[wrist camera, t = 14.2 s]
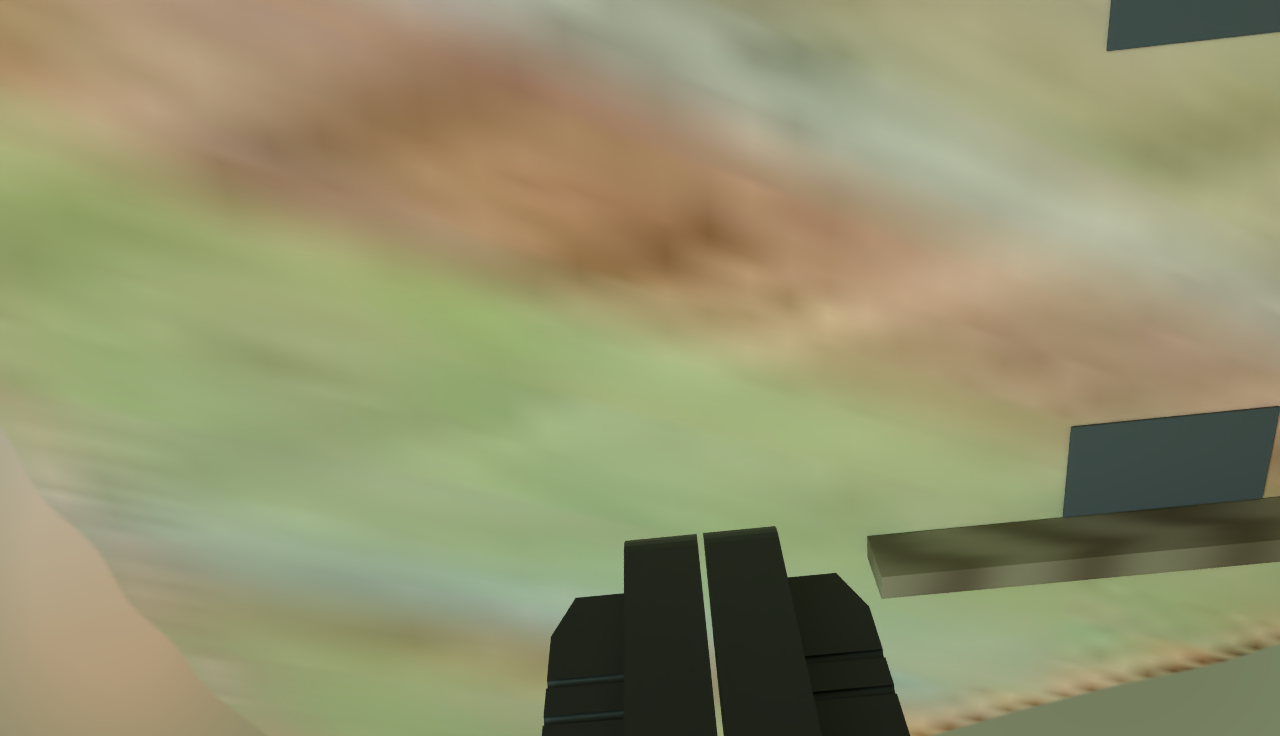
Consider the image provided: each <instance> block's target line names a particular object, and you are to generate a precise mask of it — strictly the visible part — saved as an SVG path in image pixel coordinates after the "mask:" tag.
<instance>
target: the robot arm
mask: <svg viewBox="0 0 1280 736" xmlns="http://www.w3.org/2000/svg"><path fill="white" fill-rule="evenodd" d="M703 537H704V548H705V558H706V568H707V578H708V588H709V598H710V608H711V618H712V628H713V638H714V648H715V658H716V668H717V678H718V687H719V697H720V706H721V715H722V724H723V733H724V736H910V734H909V731H908V727H907V724H906V721H905V718H904V715H903V712H902V709H901V705H900V702H899V699H898V696H897V694H895V690H894V683H893V680H892V677H891V674H890V671H889V668H888V664H887V661H886V658H884V656H883V649H882V646H881V642H880V639H879V636H878V633H877V630H876V627H875V623H874V620H873V617H872V614H871V611H870V608H869V606H868V605H867V604H866V603H865V602H864V601H863V600H862V599H861V598H860V597H859V596H858V595H857V594H856V593H855V592H854V591H853V590H852V589H851V588H850V587H849V586H848V585H847V584H846V583H845V582H844V581H843V580H842V579H841V577H840V576H839V575H838V574H837V573H831V574H820V575H810V576H799V577H789V578H787V573H786V568H785V564H784V559H783V555H782V550H781V546H780V541H779V537H778V532H777V529H776V527H775V526H772V527H762V528H751V529H741V530H731V531H720V532H710V533H703ZM547 684H548V689H546V697H545V708H544V726H543V729H542V736H717V727H716V717H715V708H714V698H713V688H712V679H711V669H710V659H709V649H708V640H707V630H706V620H705V611H704V601H703V591H702V581H701V572H700V562H699V552H698V543H697V534H692V535H682V536H672V537H661V538H651V539H640V540H630V541H625V543H624V593H623V594H613V595H602V596H591V597H581V598H575V600H574V602H573V603H572V605H571V606H570V608H569V609H568V611H567V613H566V614H565V616H564V617H563V619H562V620H561V622H560V624H559V625H558V627H557V628H556V630H555V631H554V633H553V635H552V636H551V643H550V654H549V664H548V675H547Z"/></svg>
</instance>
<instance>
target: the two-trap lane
mask: <svg viewBox="0 0 1280 736" xmlns="http://www.w3.org/2000/svg"><path fill="white" fill-rule="evenodd" d="M1271 32H1280V0H1111V8H1110V19H1109V29H1108V40H1107V51H1112V50H1121V49H1130V48H1138V47H1147V46H1156V45H1165V44H1174V43H1183V42H1192V41H1201V40H1209V39H1218V38H1227V37H1236V36H1245V35H1254V34H1263V33H1271ZM1279 411H1280V407H1279V406H1275V407H1265V408H1255V409H1245V410H1235V411H1225V412H1215V413H1205V414H1195V415H1185V416H1174V417H1164V418H1154V419H1144V420H1134V421H1124V422H1114V423H1104V424H1094V425H1084V426H1074V427H1071V434H1070V444H1069V455H1068V465H1067V476H1066V487H1065V497H1064V508H1063V517H1065V518H1055V519H1044V520H1034V521H1024V522H1013V523H1003V524H992V525H982V526H971V527H961V528H950V529H940V530H930V531H919V532H909V533H898V534H888V535H877V536H867V547H868V560H869V563H870V566H871V569H872V572H873V575H874V578H875V581H876V584H877V586H878V589H879V592H880V595H881V598H882V599H885V598H896V597H906V596H917V595H928V594H938V593H949V592H960V591H970V590H981V589H992V588H1003V587H1013V586H1024V585H1035V584H1045V583H1056V582H1067V581H1077V580H1088V579H1099V578H1109V577H1120V576H1131V575H1142V574H1152V573H1163V572H1174V571H1184V570H1195V569H1206V568H1216V567H1227V566H1238V565H1249V564H1259V563H1270V562H1280V497H1274V498H1264V499H1259V498H1262V497H1263V491H1264V486H1265V481H1266V476H1267V471H1268V466H1269V461H1270V456H1271V451H1272V446H1273V441H1274V436H1275V431H1276V426H1277V421H1278V416H1279ZM1249 499H1253V500H1249ZM1238 500H1243V501H1238ZM1228 501H1232V502H1228ZM1217 502H1222V503H1217ZM1207 503H1211V504H1207ZM1197 504H1201V505H1197ZM1186 505H1191V506H1186ZM1176 506H1180V507H1176ZM1165 507H1170V508H1165ZM1155 508H1159V509H1155ZM1144 509H1149V510H1144ZM1134 510H1138V511H1134ZM1124 511H1128V512H1124ZM1113 512H1117V513H1113ZM1103 513H1107V514H1103ZM1092 514H1097V515H1092ZM1082 515H1086V516H1082ZM1071 516H1076V517H1071Z"/></svg>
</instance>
